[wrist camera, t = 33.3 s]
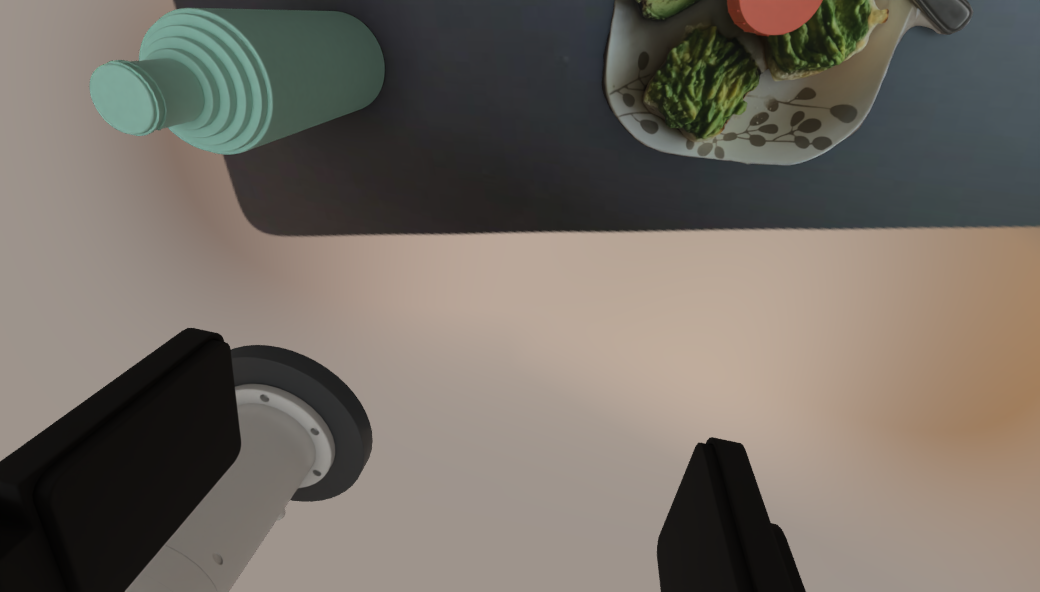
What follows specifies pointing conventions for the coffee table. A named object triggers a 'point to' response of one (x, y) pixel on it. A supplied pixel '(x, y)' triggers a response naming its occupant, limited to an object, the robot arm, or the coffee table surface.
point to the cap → (771, 15)
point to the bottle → (241, 76)
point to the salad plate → (755, 75)
